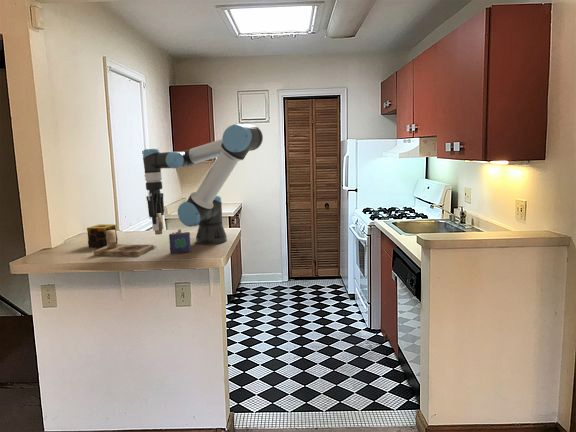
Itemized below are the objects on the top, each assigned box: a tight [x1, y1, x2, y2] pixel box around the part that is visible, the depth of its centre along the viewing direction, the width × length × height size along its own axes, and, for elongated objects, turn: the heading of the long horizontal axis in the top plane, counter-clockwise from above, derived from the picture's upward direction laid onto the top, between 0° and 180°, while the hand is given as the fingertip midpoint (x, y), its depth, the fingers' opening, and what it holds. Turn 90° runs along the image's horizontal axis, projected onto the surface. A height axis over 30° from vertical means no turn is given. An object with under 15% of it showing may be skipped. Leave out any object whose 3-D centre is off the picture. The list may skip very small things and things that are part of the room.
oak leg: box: [154, 213, 164, 235], centre depth 227 cm, size 4×4×10 cm
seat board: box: [93, 230, 155, 257], centre depth 214 cm, size 22×14×10 cm, turn 80°
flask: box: [168, 228, 192, 255], centre depth 210 cm, size 9×3×11 cm, turn 113°
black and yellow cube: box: [86, 223, 119, 249], centre depth 229 cm, size 10×10×10 cm
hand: (158, 229), depth 227 cm, fingers closed on oak leg, 4 cm apart
